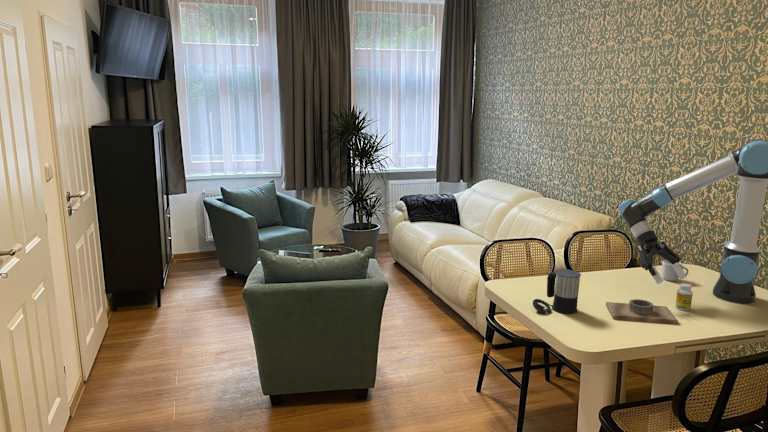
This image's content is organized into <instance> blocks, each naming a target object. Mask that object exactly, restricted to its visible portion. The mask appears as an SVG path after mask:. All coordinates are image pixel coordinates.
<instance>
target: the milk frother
mask: <svg viewBox="0 0 768 432" xmlns="http://www.w3.org/2000/svg"><path fill="white" fill-rule="evenodd" d="M581 276H582V273H580V272H578V271H577V270H574V269H567V268H566V269H565V268H561V269H556V270H555V271H551V272H550V273H548V275H547V278H546V279H547V281H546V297H548V298H553V301H552V305H551V304H550V303H548V302H546V301H545V300H542V299H539V298H535V299H533V300H532V307H533V309H535V310H536V311H538V313H543V314H548V313H550V312H551V308H552V310H553V311H554V312H557V313H559V314H560V313H561V314H564V315H572V314H577V313H578V300H579V293H580V291H579V290H580V289H579V288H580V281H581ZM543 305H544V306H543ZM545 307H546V309H545Z"/></svg>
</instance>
